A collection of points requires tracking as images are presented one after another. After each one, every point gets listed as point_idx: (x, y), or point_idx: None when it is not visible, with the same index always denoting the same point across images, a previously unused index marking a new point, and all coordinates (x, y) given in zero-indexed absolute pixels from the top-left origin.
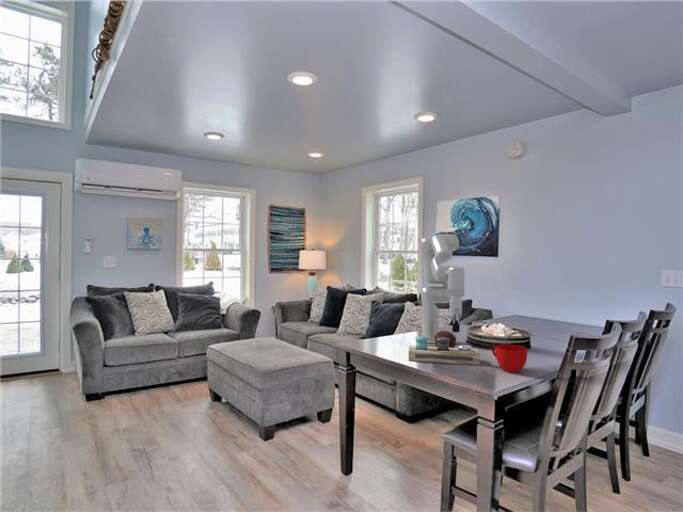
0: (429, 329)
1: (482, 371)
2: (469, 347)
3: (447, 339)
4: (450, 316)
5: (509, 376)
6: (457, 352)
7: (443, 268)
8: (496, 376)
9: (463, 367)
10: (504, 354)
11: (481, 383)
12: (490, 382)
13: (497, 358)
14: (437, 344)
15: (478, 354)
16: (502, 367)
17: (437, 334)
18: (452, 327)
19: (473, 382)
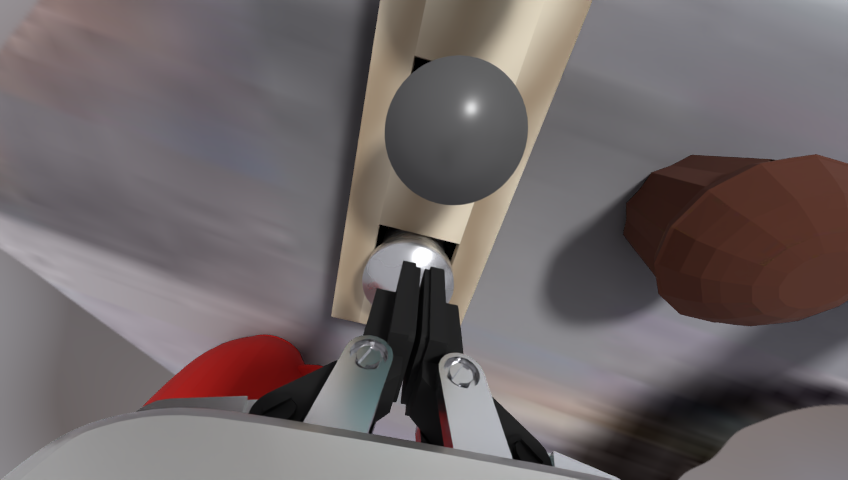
0: None
1: (230, 251)
2: (367, 298)
3: (410, 171)
4: (183, 424)
5: (181, 321)
6: (356, 205)
7: None
8: (163, 277)
9: (287, 187)
10: (159, 390)
11: (12, 172)
12: (52, 218)
13: (228, 354)
14: (722, 164)
15: (333, 309)
16: (241, 338)
17: (831, 194)
18: (398, 290)
19: (8, 138)
